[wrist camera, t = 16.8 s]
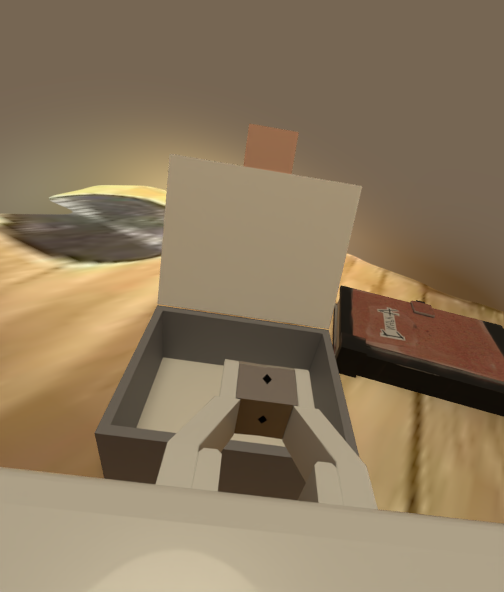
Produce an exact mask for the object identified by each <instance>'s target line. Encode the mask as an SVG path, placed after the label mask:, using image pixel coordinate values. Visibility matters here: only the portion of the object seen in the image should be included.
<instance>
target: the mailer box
mask: <svg viewBox="0 0 504 592" xmlns="http://www.w3.org/2000/svg"><path fill="white" fill-rule="evenodd" d="M225 359H228V360H235V361H243V362H249V363H256V364H262V365H271V366H279V367H287V368H293V369H294V368H295V369H303V370H308V371H309V374H310V380H311V387H312V394H313V400H314V407H315V409H319V410H320V411H321V412H322V413H323V415H324V416H325V417H326V418H327V419H328V421H329V422H330V423H331V424H332V425H333V427H334V428H335V429H336V430H337V431H338V433H339V434H340V435H341V436H342V437H343V439H344V440H345V441H346V442H347V443H348V445H349V446H350V447H351V448H352V449H353V451H354V452H355V453H356V454H357V455H358V457H359V454H358V450H357V446H356V442H355V437H354V433H353V429H352V425H351V421H350V417H349V413H348V409H347V404H346V400H345V396H344V392H343V388H342V384H341V380H340V376H339V371H338V367H337V363H336V359H335V355H334V351H333V347H332V343H331V338H330V334H329V330H325V329H318V328H311V327H304V326H297V325H290V324H283V323H276V322H269V321H262V320H255V319H249V318H242V317H235V316H228V315H221V314H214V313H207V312H200V311H193V310H186V309H179V308H173V307H166V306H159V305H157V307H156V309H155V312H154V314H153V316H152V318H151V320H150V322H149V324H148V326H147V328H146V330H145V332H144V334H143V336H142V338H141V340H140V342H139V344H138V346H137V348H136V350H135V352H134V354H133V356H132V358H131V360H130V362H129V364H128V366H127V368H126V370H125V373H124V375H123V377H122V379H121V381H120V383H119V385H118V387H117V389H116V391H115V393H114V395H113V397H112V399H111V401H110V403H109V405H108V407H107V409H106V411H105V413H104V415H103V417H102V419H101V421H100V423H99V425H98V427H97V429H96V431H95V437H96V442H97V446H98V451H99V455H100V460H101V465H102V469H103V474H104V479H112V480H121V481H130V482H139V483H147V484H156V481H157V477H158V474H159V470H160V467H161V463H162V460H163V456H164V453H165V449H166V446H167V442H168V441H169V440H170V439H171V438H172V437H173V436H174V435H175V434H176V433H177V432H178V431H179V430H180V429H181V428H182V427H183V426H184V425H185V424H187V423H188V422H189V421H190V420H191V419H192V418H193V417H194V416H195V415H196V414H197V413H198V412H199V411H200V410H201V409H202V408H203V407H204V406H205V405H206V404H207V403H208V402H209V401H210V400H211V399H212V398H213V397H214V396H219V393H220V387H221V380H222V373H223V367H224V361H225ZM282 440H283V439H276V438H270V437H263V436H256V435H245V434H234V435H233V437H232V438H231V439H230V441H229V442H228V443H227V445H226V446H225V447H224V449H223V450H222V451H221V454H222V457H221V466H220V475H219V484H218V492H227V493H236V494H245V495H254V496H263V497H272V498H281V499H290V500H298V498H299V496H300V494H301V492H302V490H303V488H304V486H305V484H306V482H305V480H304V479H303V477H302V475H301V473H300V471H299V470H298V468H297V466H296V464H295V463H294V461H293V459H292V457H291V455H290V454H289V452H288V450H287V448H286V447H285V445H284V443H283V441H282Z"/></svg>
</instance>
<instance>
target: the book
mask: <svg viewBox="0 0 504 592" xmlns="http://www.w3.org/2000/svg"><path fill="white" fill-rule="evenodd" d="M332 347H333V351H334V355H335V359H336V363H337V367H338V371H339V373H340V374H344V375H347V376H351V377H354V378H355V377H356V375H358V376H361V377H365V378H368V379H372V380H376V381H379V382H383V383H386V384H390V385H393V386H397V387H401V388H404V389H408V390H411V391H415V392H418V393H422V394H425V395H429V396H433V397H436V398H440V399H443V400H447V401H450V402H454V403H458V404H461V405H465V406H468V407H472V408H475V409H479V410H482V411H486V412H490V413H493V414H497V415H500V416H504V329H503V327H502V326H501V325H497V324H493V323H489V322H485V321H481V320H477V319H473V318H469V317H465V316H461V315H457V314H453V313H449V312H445V311H441V310H437V309H433V308H432V307H431V305H428V304H425V302H421V301H417V300H416V301H411V303H409V302H405V301H401V300H397V299H393V298H389V297H385V296H381V295H377V294H373V293H369V292H365V291H361V290H357V289H353V288H349V287H345V286H341V287H340V299H339V301H338V304H336V303H335V305H334V319H333V344H332Z"/></svg>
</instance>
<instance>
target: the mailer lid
mask: <svg viewBox="0 0 504 592" xmlns="http://www.w3.org/2000/svg"><path fill="white" fill-rule="evenodd" d="M298 134H299V133H298V132H294V131H289V130H283V129H277V128H271V127H266V126H260V125H254V124H249V130H248V138H247V144H246V151H245V158H244V166H239V165H233V164H227V163H222V162H216V161H210V160H203V159H198V158H192V157H186V156H180V155H174V154H170V158H169V171H168V183H167V195H166V207H165V219H164V231H163V243H162V256H161V268H160V280H159V292H158V304H162V305H168V306H175V307H182V308H189V309H196V310H203V311H210V312H217V313H224V314H230V315H237V316H244V317H251V318H258V319H265V320H272V321H279V322H286V323H293V324H299V325H306V326H313V327H320V328H327V329H329V326H330V322H331V318H332V314H333V309H334V305H335V301H336V297H337V292H338V288H339V284H340V279H341V275H342V271H343V267H344V262H345V258H346V254H347V249H348V245H349V241H350V237H351V232H352V228H353V224H354V219H355V215H356V211H357V207H358V202H359V198H360V194H361V189H362V186H358V185H352V184H346V183H340V182H334V181H328V180H322V179H316V178H311V177H304V176H298V175H293V174H291V173H292V168H293V162H294V156H295V151H296V144H297V140H298Z"/></svg>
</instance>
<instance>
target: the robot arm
mask: <svg viewBox="0 0 504 592" xmlns="http://www.w3.org/2000/svg"><path fill="white" fill-rule="evenodd" d="M234 434H245V435H256V436H263V437H270V438H276V439H283V440H282V441H283V443H284V445H285V447H286V448H287V450H288V452H289V454H290V455H291V457H292V459H293V461H294V463H295V464H296V466H297V468H298V470H299V471H300V473H301V475H302V477H303V479H304V480H305V482H306V484H305V486H304V488H303V490H302V492H301V494H300V496H299V498H298V500H290V499H281V498H272V497H263V496H254V495H245V494H236V493H227V492H218V484H219V475H220V466H221V457H222V454H221V451H222V450H223V449H224V447H225V446H226V445H227V443H228V442H229V441H230V439H231V438H232V437H233V435H234ZM0 592H504V524H503V523H494V522H485V521H476V520H467V519H458V518H449V517H441V516H432V515H423V514H414V513H405V512H396V511H387V510H378V509H377V505H376V501H375V497H374V493H373V489H372V486H371V482H370V478H369V474H368V470H367V466H366V465H365V464H364V463H363V462H362V460H361V459H360V458H359V457H358V455H357V454H356V453H355V452H354V451H353V449H352V448H351V447H350V446H349V445H348V443H347V442H346V441H345V440H344V439H343V437H342V436H341V435H340V434H339V433H338V431H337V430H336V429H335V428H334V427H333V425H332V424H331V423H330V422H329V421H328V419H327V418H326V417H325V416H324V415H323V413H322V412H321V411H320V410H319V409H315V407H314V400H313V394H312V387H311V380H310V374H309V371H308V370H303V369H295V368H294V369H293V368H287V367H279V366H271V365H262V364H256V363H249V362H243V361H235V360H228V359H225V361H224V367H223V373H222V380H221V387H220V393H219V396H214V397H213V398H212V399H211V400H210V401H209V402H208V403H207V404H206V405H205V406H204V407H203V408H202V409H201V410H200V411H199V412H198V413H197V414H196V415H195V416H194V417H193V418H192V419H191V420H190V421H189V422H188V423H187V424H185V425H184V426H183V427H182V428H181V429H180V430H179V431H178V432H177V433H176V434H175V435H174V436H173V437H172V438H171V439H170V440H169V441H168V442H167V446H166V449H165V453H164V456H163V460H162V463H161V467H160V470H159V474H158V477H157V481H156V484H147V483H139V482H130V481H121V480H112V479H103V478H94V477H85V476H77V475H68V474H59V473H50V472H41V471H33V470H24V469H15V468H6V467H0Z"/></svg>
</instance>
